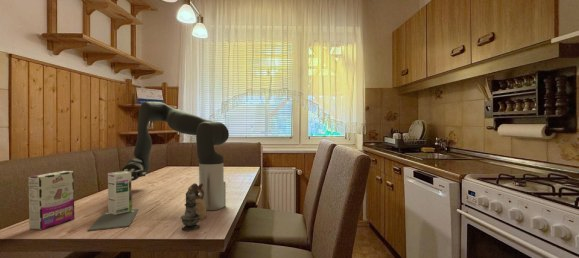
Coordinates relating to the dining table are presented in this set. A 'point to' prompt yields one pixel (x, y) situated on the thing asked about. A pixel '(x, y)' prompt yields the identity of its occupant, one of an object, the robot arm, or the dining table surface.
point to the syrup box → (119, 192)
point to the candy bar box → (50, 199)
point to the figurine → (199, 200)
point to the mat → (113, 220)
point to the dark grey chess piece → (190, 213)
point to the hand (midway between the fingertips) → (125, 176)
